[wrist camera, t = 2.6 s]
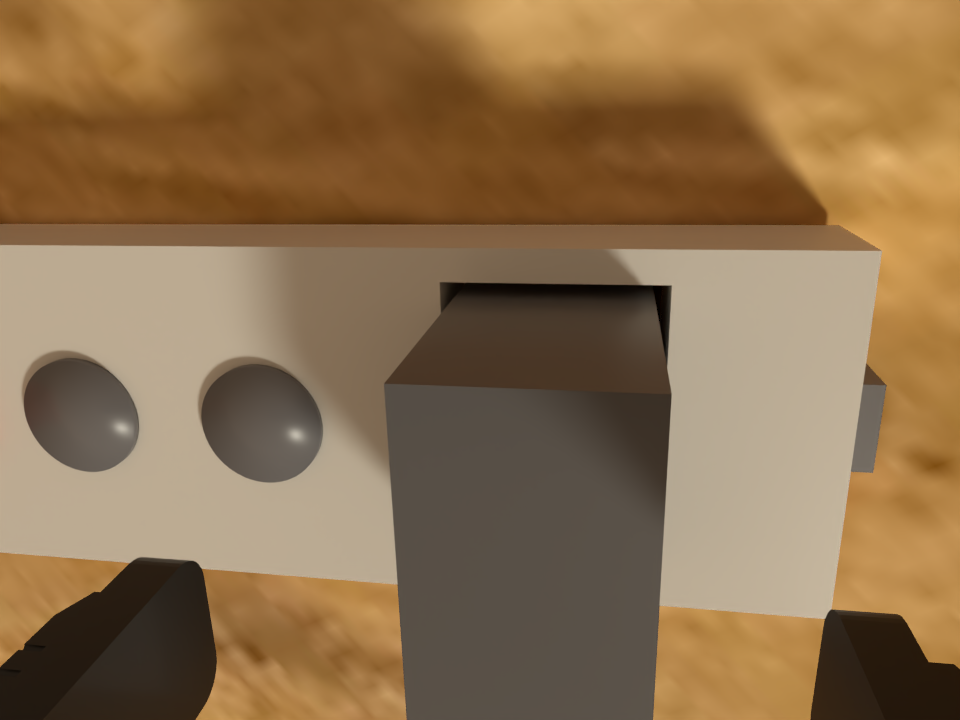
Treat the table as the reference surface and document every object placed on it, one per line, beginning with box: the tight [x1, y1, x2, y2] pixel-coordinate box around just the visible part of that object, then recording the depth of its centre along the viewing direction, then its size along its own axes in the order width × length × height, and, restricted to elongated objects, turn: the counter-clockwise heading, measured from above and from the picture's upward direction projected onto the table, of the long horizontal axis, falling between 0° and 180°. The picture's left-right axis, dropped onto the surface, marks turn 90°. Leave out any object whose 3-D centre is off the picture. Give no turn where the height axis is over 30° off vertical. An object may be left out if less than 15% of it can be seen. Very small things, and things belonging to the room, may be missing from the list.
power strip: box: [0, 224, 886, 619], centre depth 18 cm, size 23×8×4 cm, turn 92°
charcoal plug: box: [384, 283, 672, 720], centre depth 15 cm, size 4×6×8 cm, turn 2°
